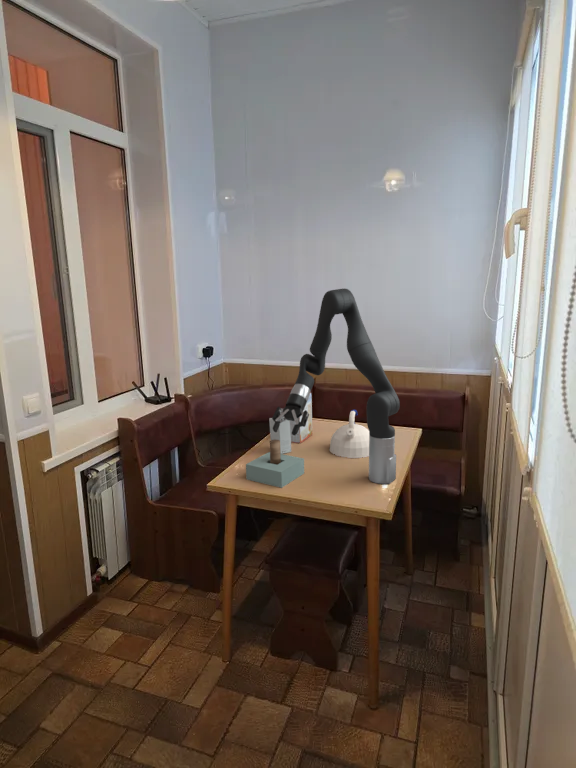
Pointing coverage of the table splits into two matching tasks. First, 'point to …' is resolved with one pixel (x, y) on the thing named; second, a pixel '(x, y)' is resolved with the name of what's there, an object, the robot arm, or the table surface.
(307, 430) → the cracker box
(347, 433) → the kettle
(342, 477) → the table surface
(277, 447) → the walnut pin
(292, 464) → the slate bore block
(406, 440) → the table surface
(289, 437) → the skincare box
